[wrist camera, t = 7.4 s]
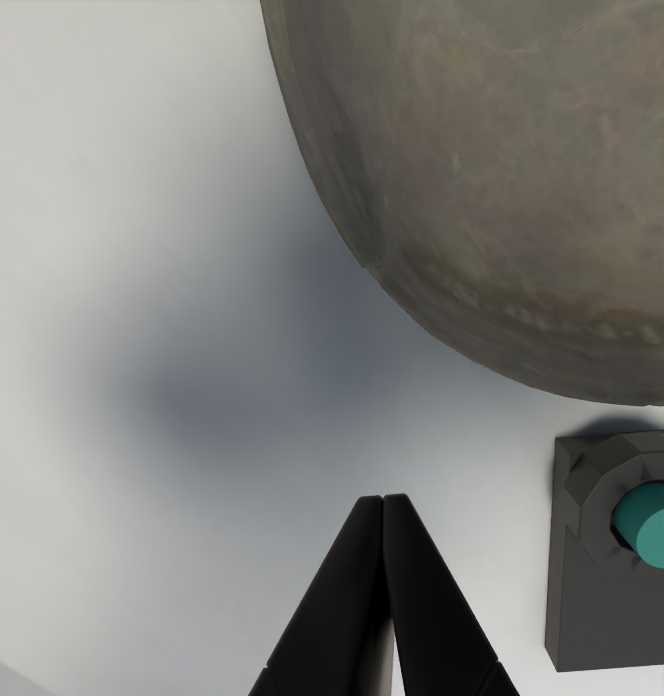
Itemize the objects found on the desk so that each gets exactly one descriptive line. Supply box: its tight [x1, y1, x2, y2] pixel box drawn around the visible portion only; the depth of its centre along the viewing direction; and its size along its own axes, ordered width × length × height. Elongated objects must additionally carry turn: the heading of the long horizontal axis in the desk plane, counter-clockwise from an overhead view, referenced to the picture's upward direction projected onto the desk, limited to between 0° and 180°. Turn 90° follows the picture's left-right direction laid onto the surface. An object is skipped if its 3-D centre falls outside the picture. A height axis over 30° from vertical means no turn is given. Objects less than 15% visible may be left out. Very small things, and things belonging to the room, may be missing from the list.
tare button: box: [614, 482, 664, 568], centre depth 20 cm, size 3×3×2 cm
